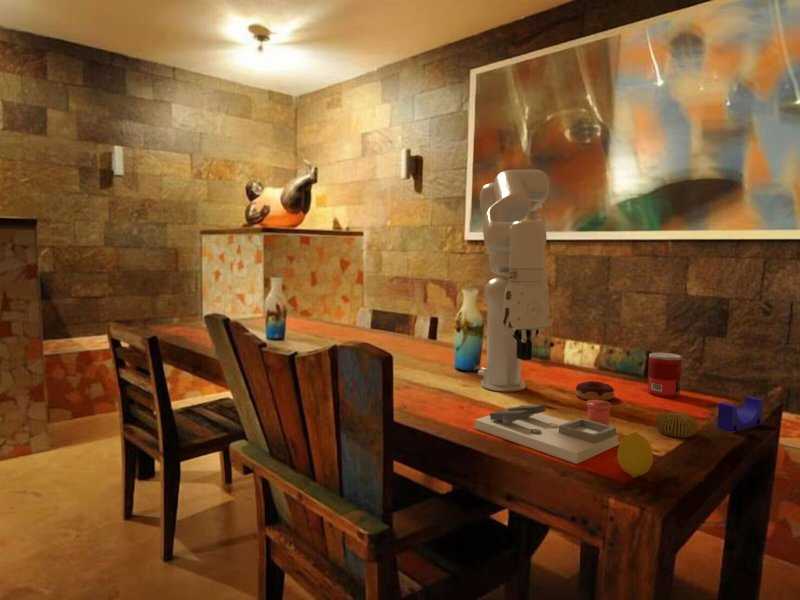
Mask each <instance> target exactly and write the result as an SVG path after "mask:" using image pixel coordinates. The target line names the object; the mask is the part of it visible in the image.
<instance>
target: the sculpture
mask: <svg viewBox="0 0 800 600" xmlns="http://www.w3.org/2000/svg"><path fill="white" fill-rule="evenodd" d="M655 420H656V421H655V424H656V427H657V429H658V430H659V431H660V432H661V433H663V434H665V435H667V436H670V437H674V438H685V439H686V438H687V439H688V438H690V437H691V438H692V437H693V436H695V435H696V434H697V432H698V430H699V424H698V422H697V420H696V419H694V418H693V417H692V416H690V415H688V414H685V413H680V412H663V413H661V414H659V415H658V416H657V418H656V419H655Z"/></svg>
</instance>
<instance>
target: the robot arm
mask: <svg viewBox="0 0 800 600" xmlns="http://www.w3.org/2000/svg"><path fill="white" fill-rule="evenodd" d="M549 193H550V180H549V178H548V175H547V173H546V172H544V171H543V170H541V169H507V170H504V171H501V172H500V173H498V174H497V176H496V177H495V179H494V182H489V183H486V184H484V185H483V187H482V188H481V190H480V192H479V205H480V211H481V215H482V218H483V221H482V234H483V242H484V247H485V249H486V250H487V252H488V259H489V260H488V261H489V267H490V271H491V272H492V273H493V274H495V275H499V277H495V278H491V279H490V280H488V282H487V283H486V284H485V287H484V297H485V303H486V305H485V306H486V315H487V316H486V319H487V327H486V328H487V329H486V331H487V333H486V334H487V336H486V337H487V340H486V342H487V344H486V367H480V369H479V370H478V371H477V374H478V375H479V376H483V379H482V380H481V381H480V386H481V387H482V388H484V389H487V390H489V391H496V392H508V393H509V392H518V391H523V390H525V388H526V382H525V381H523V380H521V361H531V360H532V359H533V358H532V357H533V356H532V355H533V343H534V342H535V341H536V337H537V335H538V334H541V333H542V332H545V331H546V328H547V327H549V325H550V314H551V313H550V297H549V285H548V270H547V258H546V252H545V248H546V244H547V237H548V236H547V230H546V226H545V224H544V222H542V221H540V220H533V219H532V220H528V219H527V220H524V219H525V218H527V217H528V215H529V214H530V212H534V211H537V210H538V209H539V208H540V207H541V206H542V205H543V204H544V203H545V201H546V200H547V198H548V197H549Z"/></svg>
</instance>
